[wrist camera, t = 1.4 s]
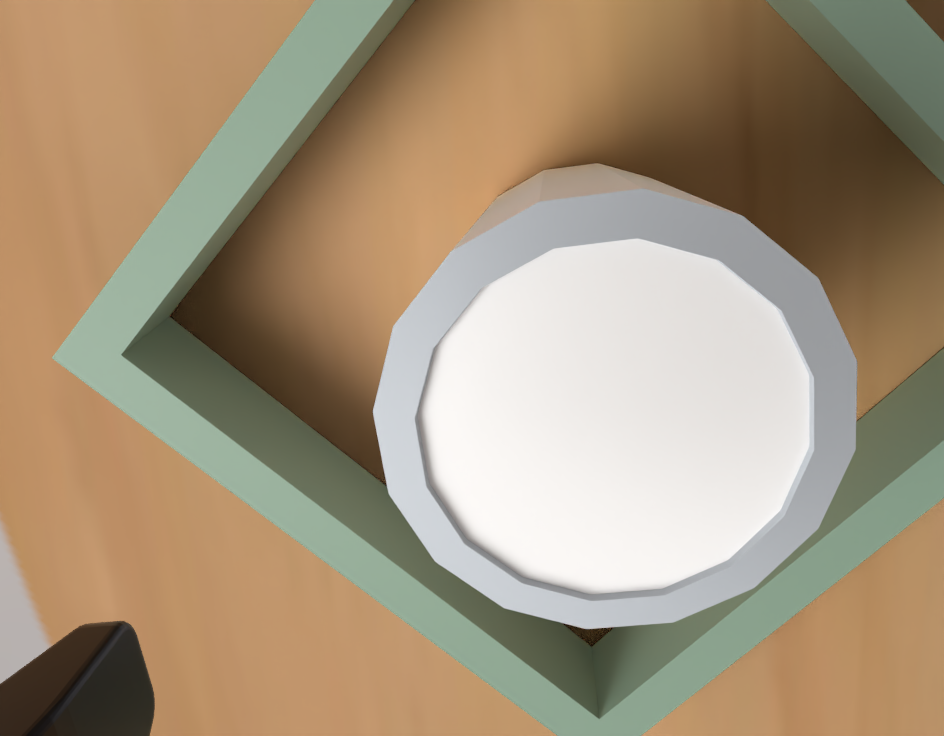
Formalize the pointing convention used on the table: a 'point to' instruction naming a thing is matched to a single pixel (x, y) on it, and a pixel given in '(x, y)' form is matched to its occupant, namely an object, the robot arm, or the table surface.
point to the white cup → (615, 402)
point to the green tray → (366, 498)
